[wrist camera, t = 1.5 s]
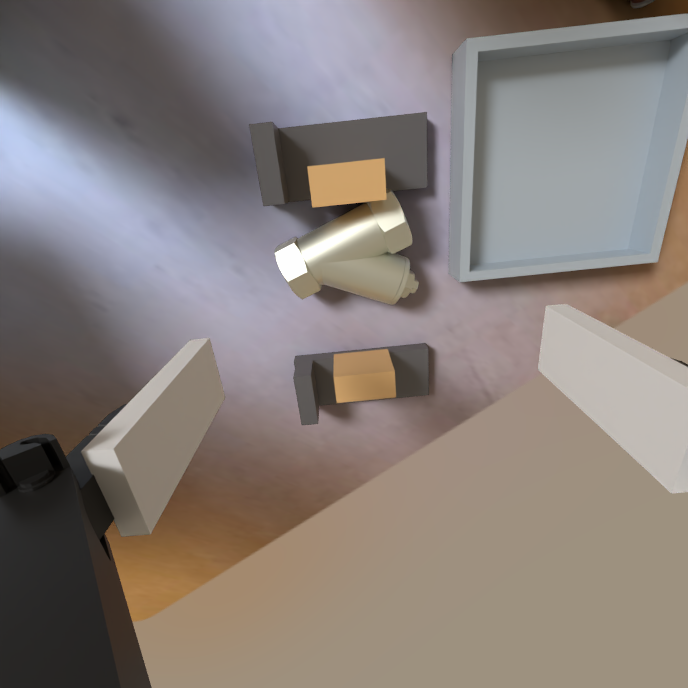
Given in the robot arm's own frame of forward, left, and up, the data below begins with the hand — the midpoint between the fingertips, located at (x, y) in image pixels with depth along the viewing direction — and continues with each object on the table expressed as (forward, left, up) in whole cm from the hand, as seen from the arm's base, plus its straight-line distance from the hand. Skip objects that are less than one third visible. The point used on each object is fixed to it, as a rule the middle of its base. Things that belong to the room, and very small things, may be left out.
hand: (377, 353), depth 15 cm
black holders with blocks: (0, 0, -12) cm, 12 cm away
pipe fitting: (0, +1, -13) cm, 13 cm away
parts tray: (+13, +6, -12) cm, 19 cm away
